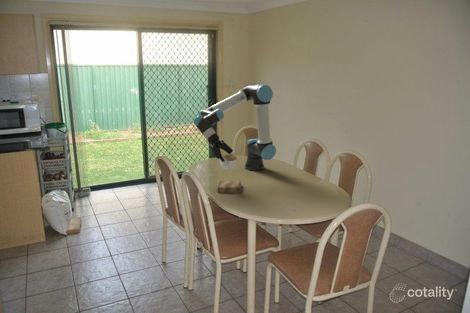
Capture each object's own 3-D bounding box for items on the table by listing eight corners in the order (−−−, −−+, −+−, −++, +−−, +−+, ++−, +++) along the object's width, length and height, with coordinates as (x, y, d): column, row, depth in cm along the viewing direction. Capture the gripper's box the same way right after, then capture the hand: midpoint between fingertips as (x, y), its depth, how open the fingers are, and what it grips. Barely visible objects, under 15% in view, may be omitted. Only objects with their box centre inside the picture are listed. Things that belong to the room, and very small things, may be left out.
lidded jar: (238, 167, 229) (238, 153, 227) (232, 171, 220) (233, 157, 217) (223, 165, 233) (223, 152, 231) (217, 169, 223) (217, 155, 221)
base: (241, 185, 233) (241, 181, 232) (240, 192, 219) (240, 188, 219) (220, 185, 234) (220, 180, 233) (217, 192, 220) (217, 187, 220)
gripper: (217, 137, 239) (236, 162, 236) (197, 143, 219) (219, 170, 216) (224, 130, 235) (244, 155, 232) (204, 135, 216) (226, 163, 212)
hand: (232, 163), depth 224 cm, fingers closed on lidded jar, 11 cm apart
